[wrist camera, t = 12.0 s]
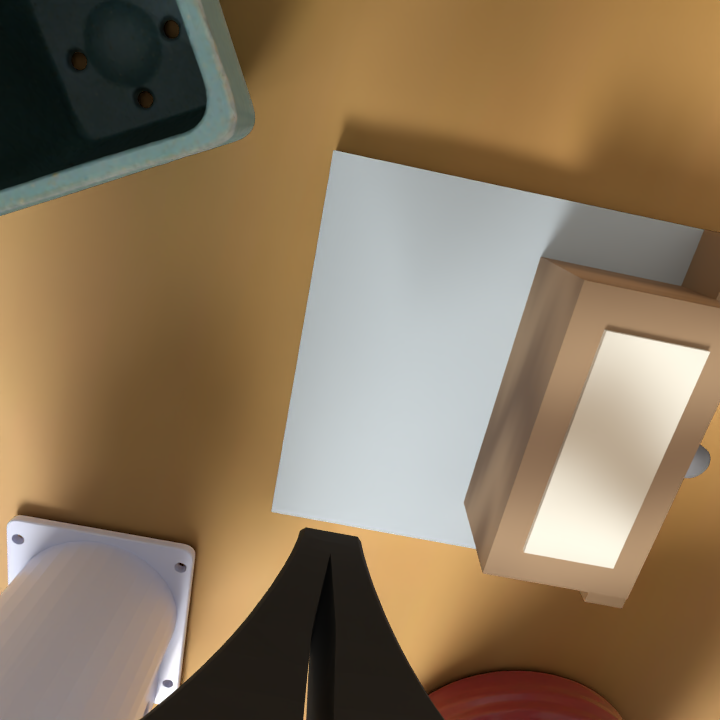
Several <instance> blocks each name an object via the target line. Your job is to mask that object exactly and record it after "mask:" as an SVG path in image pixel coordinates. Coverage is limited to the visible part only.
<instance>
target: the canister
mask: <svg viewBox="0 0 720 720" xmlns="http://www.w3.org/2000/svg"><path fill="white" fill-rule="evenodd" d="M428 696H429V698H430V699H431V701H432V702H433V704H434V705H435V707H436V708H437V710H438V711H439V712H440V714H441V715H442V717H443V718H444V719H445V720H623V719H622V718H621V716H620V715H619V713H618V712H617V711H616V709H615V708H614V707H613V706H612V705H611V704H610V703H609V702H608V701H607V700H606V699H604V698H603V697H602V696H600V695H599V694H598V693H596V692H595V691H593V690H591V689H590V688H588V687H586V686H584V685H582V684H580V683H577V682H575V681H572V680H569V679H566V678H563V677H560V676H556V675H552V674H546V673H540V672H533V671H499V672H491V673H485V674H480V675H475V676H471V677H468V678H464V679H461V680H458V681H455V682H453V683H450V684H448V685H446V686H444V687H442V688H440V689H438V690H436V691H434V692H432V693H431V694H429V695H428Z"/></svg>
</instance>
